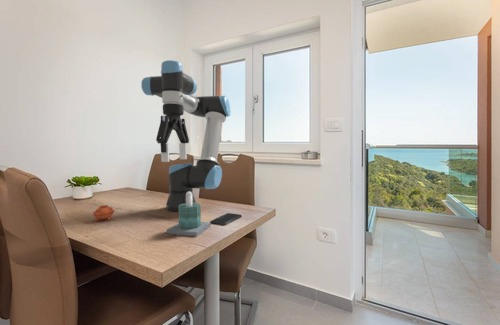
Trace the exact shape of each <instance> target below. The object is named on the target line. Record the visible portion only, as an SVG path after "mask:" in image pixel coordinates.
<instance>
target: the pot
mask: <svg viewBox="0 0 500 325" xmlns="http://www.w3.org/2000/svg"><path fill="white" fill-rule="evenodd" d="M114 213H115V209H114V208H113V207H110V206H109V205H100V206H98V208H96V210H94V212H93V216H94V218H95V220H96V221H97V222H99V219H101V220H105V219H107V220H108V221H111V217H112V216H113V214H114Z"/></svg>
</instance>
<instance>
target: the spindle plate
mask: <svg viewBox="0 0 500 325" xmlns="http://www.w3.org/2000/svg"><path fill="white" fill-rule="evenodd" d="M186 206H193V205H192V193H191V192H187V193H186ZM209 228H211V222H210V221H201V225H200V226H199V227H198V228H193V229H181V228H180V227H179V222H178V223H176V224H175V225H172V226H171V227H169V228H167V229H166V234H167V235H174V236H175V235H177V236H188V237H199V235H201V234H203V232H205V231H206V230H209Z"/></svg>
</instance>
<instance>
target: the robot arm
mask: <svg viewBox="0 0 500 325" xmlns="http://www.w3.org/2000/svg"><path fill="white" fill-rule="evenodd" d="M160 66H161V70H160V74H161V75H160V76H159V75H158V76H147V77H143V79H142V80H141V85H140V87H141V89H142V93H144V94H145V95H146V96H151V97H152V96H157V97H159V98H161V100H162V101H161V102H162V103H163V104H162V114H163V115H160V123H159V127H158V130H157V135H156V139H155V141H156V142H157V144H159V145H160V159H161V161H160V162H162V163H169V162H170V143H168V141H169V139H170V136H171V134H172V133H173V132H172V131H175V134H176V135H177V138H178V140H179V142H180V143H178V144H179V146H178V147H179V160H187V158H188V156H187V154H188V153H187V144H189V141H190V139H189V135H188V131H187V126H186V121H185V118H181V116H183V115H184V114H185V113H188V114H190V115H193V116H196V117H198V118H205V119H206V125H205V129H204V136H203V142H202V148H201V152H200V153H201V154H200V158H199V159H197V160H196V165H193V163H192V162H186V163H185V162H184V163H179V164H178V163H177V164H172V165H170V166H169V168H168V186H169V189H168V190H169V193H168V197H167V201H166V203H165V209H166V211H169V212H179V209H178V205H181V204H184V203H186V193H187V192H191V193H192V203H197V200H196V199H195V198H196V197H195V196H194V192H193V189H196V190H197V189H201V190H202V189H203V190H212V189H213V190H214V189H217V188H218V187H219V186H220V185H221V182H222V179H223V178H222V177H223V170H222V167H221V166H220V163H219V162H218V156H219V149H220V143H221V135H222V129H223V123H225V122H226V120H227V118H228V117H230V116H231V105H230V101H229V99H228V97H227V96H226V95H208V96H194V94H195V93H196V91H197V89H198V84H197V82H196V80H195V79H194V78H193V77H192V76H190V75H188V74H186V73H184V72H183V71H184V69H183V65H182V63H181V62H180V61H177V60H172V59H170V60H168V59H167V60H164V61H163V62H161V65H160ZM184 112H185V113H184Z"/></svg>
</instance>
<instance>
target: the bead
mask: <svg viewBox="0 0 500 325" xmlns="http://www.w3.org/2000/svg"><path fill="white" fill-rule="evenodd" d="M192 205H193V206H186V203H184V204H181V205H178V209H179V211H178V223H179V227H180V228H181V229H193V228H198V227H199V226H200V225H201V222H202V220H201V219H202V218H201V216H202V215H201V211H202V210H201V204H200V203H198V202H196V203H192Z"/></svg>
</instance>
